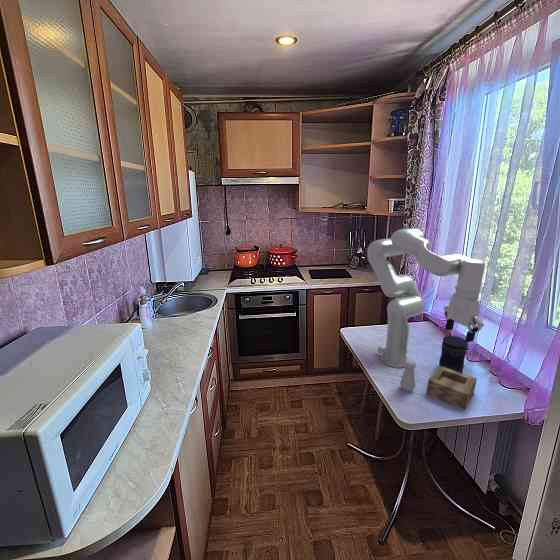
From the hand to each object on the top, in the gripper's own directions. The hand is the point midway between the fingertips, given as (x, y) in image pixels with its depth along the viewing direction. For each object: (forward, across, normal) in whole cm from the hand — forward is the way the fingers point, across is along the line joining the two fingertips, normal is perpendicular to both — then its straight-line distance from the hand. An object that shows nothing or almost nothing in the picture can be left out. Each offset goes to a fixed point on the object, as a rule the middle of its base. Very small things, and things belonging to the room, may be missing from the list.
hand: (458, 335), depth 122 cm
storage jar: (+27, -13, +14) cm, 33 cm away
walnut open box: (+26, 0, +1) cm, 27 cm away
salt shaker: (+27, -7, -14) cm, 31 cm away
